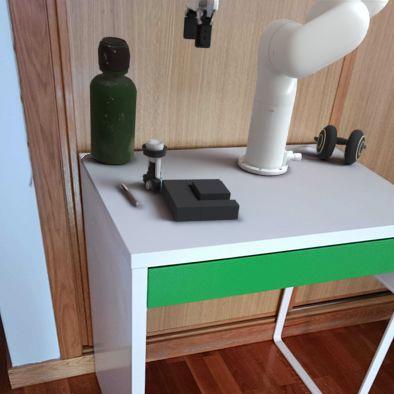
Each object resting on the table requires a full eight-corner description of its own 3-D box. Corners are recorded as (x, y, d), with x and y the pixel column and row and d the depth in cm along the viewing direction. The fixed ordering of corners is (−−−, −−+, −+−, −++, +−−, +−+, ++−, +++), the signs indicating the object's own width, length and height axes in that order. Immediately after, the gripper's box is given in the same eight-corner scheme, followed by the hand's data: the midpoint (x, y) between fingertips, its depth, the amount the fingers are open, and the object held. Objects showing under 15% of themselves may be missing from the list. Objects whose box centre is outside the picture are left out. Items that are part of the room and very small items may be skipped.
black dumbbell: (308, 158, 133) (310, 152, 150) (364, 167, 131) (360, 160, 148) (316, 123, 129) (318, 121, 146) (374, 132, 127) (369, 129, 144)
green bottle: (136, 149, 126) (141, 37, 108) (130, 168, 119) (135, 52, 101) (95, 143, 125) (93, 29, 108) (86, 162, 118) (84, 43, 100)
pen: (119, 186, 109) (119, 181, 108) (122, 185, 109) (122, 181, 109) (136, 207, 101) (136, 202, 101) (140, 207, 102) (140, 202, 101)
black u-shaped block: (217, 191, 112) (219, 178, 110) (237, 219, 102) (239, 205, 100) (161, 193, 109) (161, 179, 107) (175, 221, 98) (176, 207, 96)
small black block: (219, 198, 109) (221, 180, 107) (228, 211, 104) (230, 193, 102) (190, 199, 107) (192, 181, 105) (198, 212, 103) (200, 193, 100)
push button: (133, 184, 111) (133, 137, 105) (152, 180, 114) (154, 134, 107) (150, 195, 107) (151, 147, 101) (170, 190, 110) (172, 144, 104)
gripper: (237, -58, 89) (225, 52, 100) (210, -61, 102) (202, 37, 112) (196, -62, 87) (189, 50, 98) (174, -65, 100) (169, 35, 111)
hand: (196, 43), depth 105 cm, fingers open, 9 cm apart
